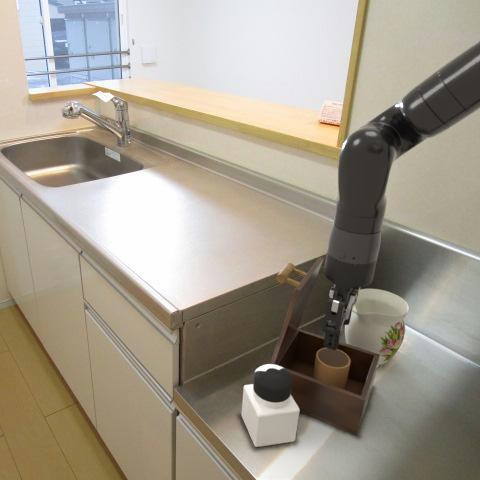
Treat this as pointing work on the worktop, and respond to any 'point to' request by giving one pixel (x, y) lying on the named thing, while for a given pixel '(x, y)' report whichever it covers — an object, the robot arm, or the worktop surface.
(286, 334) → the lid
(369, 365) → the chest
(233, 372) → the worktop surface
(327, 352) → the tan cylinder
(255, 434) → the medicine bottle
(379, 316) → the pitcher
